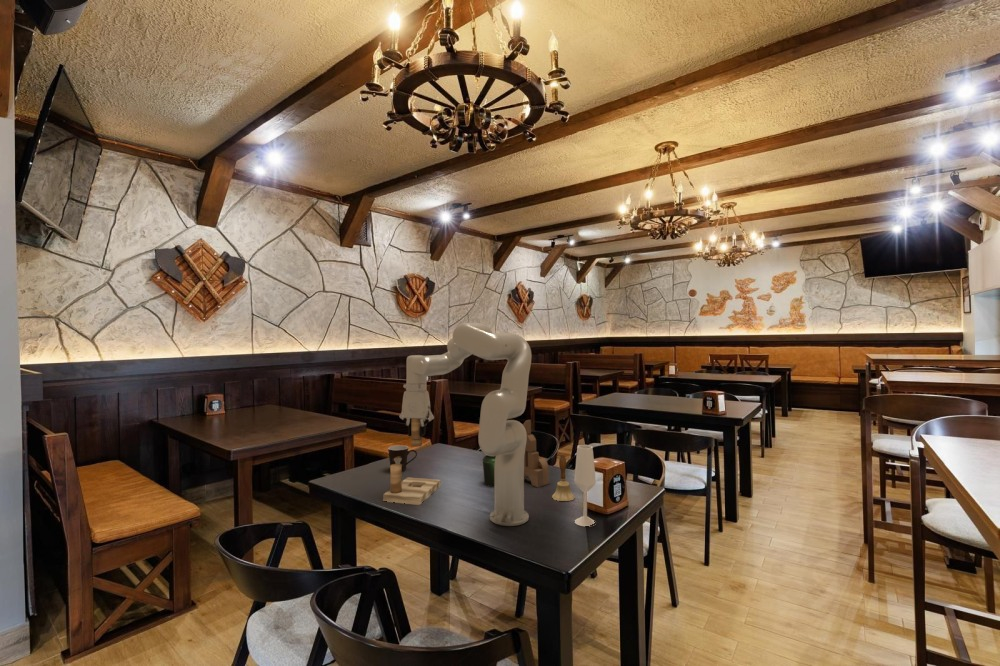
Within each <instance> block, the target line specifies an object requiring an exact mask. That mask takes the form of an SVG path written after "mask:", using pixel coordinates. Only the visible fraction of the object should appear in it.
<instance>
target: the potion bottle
mask: <svg viewBox="0 0 1000 666" xmlns="http://www.w3.org/2000/svg"><path fill="white" fill-rule="evenodd" d="M495 458H496V456H488V455H486V454H485V456H483V458H482V468H483V480H484V485H485V484H486V485H485V486H487V485H489V486H488V487H495Z"/></svg>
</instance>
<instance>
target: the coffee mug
mask: <svg viewBox="0 0 1000 666" xmlns="http://www.w3.org/2000/svg"><path fill="white" fill-rule="evenodd" d="M387 450H388V459H389V466H390V465H392V464H401V465H402V473H404V472H406V471H407V470H406V469H407V466H408V464H410V463H412V461H414V460H415V459H416V458H417V456H418V452H417V450H414V449H410V450H409V446H408V445H403V444H401V445H400V444H397V445H391V446H389V447H388V448H387ZM411 452H414V453H415V455H414V457H413V458H412V459H410V460H408V456H409V454H410V453H411ZM407 460H408V461H407ZM405 470H406V471H405Z"/></svg>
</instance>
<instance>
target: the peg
mask: <svg viewBox="0 0 1000 666" xmlns="http://www.w3.org/2000/svg"><path fill="white" fill-rule="evenodd" d="M420 426H421V422H420V419H415V418H411V436H410V439H411V441H410V444H411V447H422V446H423V437H420Z"/></svg>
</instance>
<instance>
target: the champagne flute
mask: <svg viewBox="0 0 1000 666" xmlns="http://www.w3.org/2000/svg"><path fill="white" fill-rule="evenodd" d="M593 448H594V447H593V446H592V445H589V444H578V445H577V447H576V449H577V450H576V458H575V469H574V481H573V482H574V484H575V486H576V487H577V488H578V489H579V490H580V491H581V492H582V516H580V517H578V518H576V519H575V520H574V521H575V522H574V524H576V525H578V526H581V527H585V526H589V527H591V526H590V525H592V524H594V523H595V522H596V521H595V520H594V519H592V518H590V517H589V516H588V492H589V491H591V490H592V489H593V488H594V486H595V485H596V483H597V482H596V481H597V480H596V479H597V478H596V468H595V459H594V450H593ZM594 521H595V522H594Z"/></svg>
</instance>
